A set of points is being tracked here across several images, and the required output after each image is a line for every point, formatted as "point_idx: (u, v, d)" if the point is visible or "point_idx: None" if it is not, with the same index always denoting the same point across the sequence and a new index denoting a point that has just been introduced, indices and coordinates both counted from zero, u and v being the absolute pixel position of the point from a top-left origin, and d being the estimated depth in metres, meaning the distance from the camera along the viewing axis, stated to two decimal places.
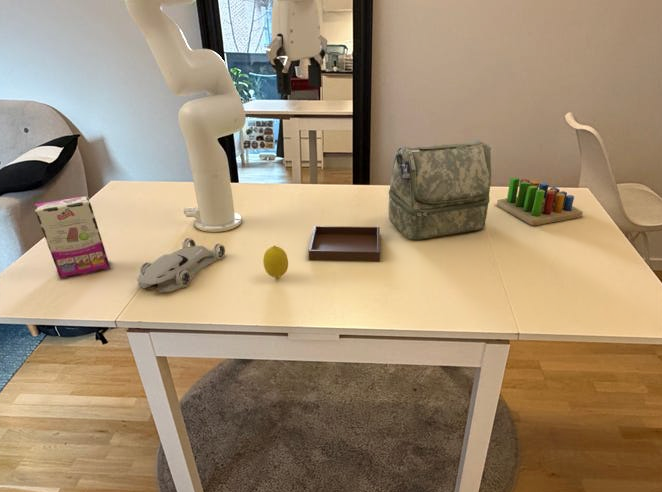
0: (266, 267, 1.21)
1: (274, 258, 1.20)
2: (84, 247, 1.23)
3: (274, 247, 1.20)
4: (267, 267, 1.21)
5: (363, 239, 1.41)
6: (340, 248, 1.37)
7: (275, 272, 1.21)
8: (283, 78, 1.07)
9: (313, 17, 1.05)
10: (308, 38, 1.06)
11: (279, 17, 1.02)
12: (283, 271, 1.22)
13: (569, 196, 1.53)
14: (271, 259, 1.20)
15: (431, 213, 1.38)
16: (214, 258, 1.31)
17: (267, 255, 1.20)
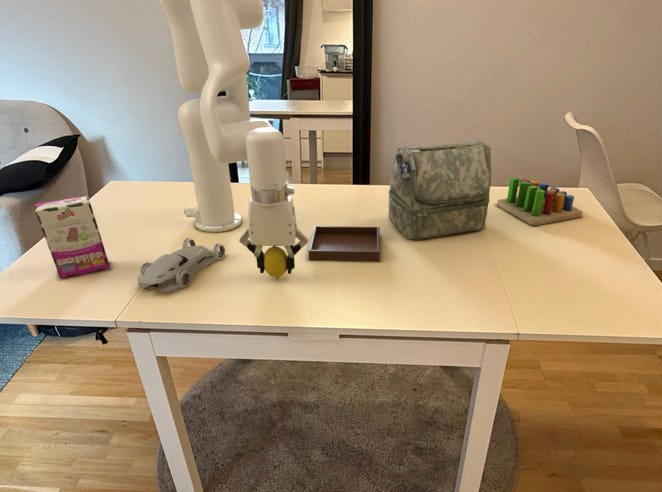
0: (266, 267, 1.21)
1: (274, 258, 1.20)
2: (84, 247, 1.23)
3: (274, 247, 1.20)
4: (267, 267, 1.21)
5: (363, 239, 1.41)
6: (340, 248, 1.37)
7: (275, 272, 1.21)
8: (257, 260, 1.22)
9: (280, 217, 1.14)
10: (273, 232, 1.16)
11: None
12: (283, 271, 1.22)
13: (569, 196, 1.53)
14: (271, 259, 1.20)
15: (431, 213, 1.38)
16: (214, 258, 1.31)
17: (267, 255, 1.20)
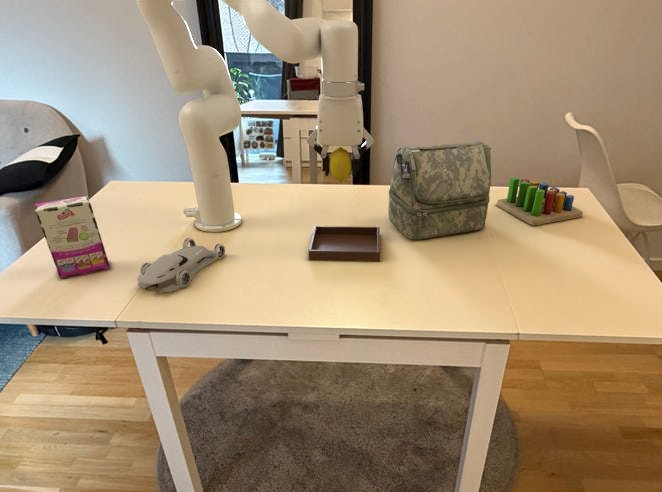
0: (332, 169, 1.24)
1: (340, 159, 1.22)
2: (84, 247, 1.23)
3: (340, 148, 1.22)
4: (332, 168, 1.23)
5: (363, 239, 1.41)
6: (340, 248, 1.37)
7: (341, 174, 1.24)
8: (323, 161, 1.24)
9: (349, 113, 1.16)
10: (341, 130, 1.18)
11: None
12: (348, 173, 1.24)
13: (569, 196, 1.53)
14: (337, 160, 1.22)
15: (431, 213, 1.38)
16: (214, 258, 1.31)
17: (333, 156, 1.22)
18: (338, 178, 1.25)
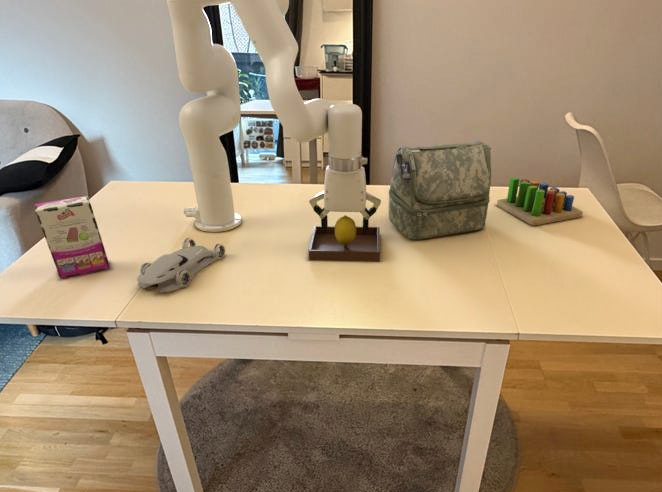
0: (337, 235, 1.34)
1: (345, 226, 1.33)
2: (84, 247, 1.23)
3: (345, 216, 1.33)
4: (338, 234, 1.34)
5: (363, 239, 1.41)
6: (340, 248, 1.37)
7: (346, 239, 1.34)
8: (321, 221, 1.34)
9: (354, 184, 1.26)
10: (346, 199, 1.28)
11: None
12: (352, 239, 1.35)
13: (569, 196, 1.53)
14: (343, 227, 1.33)
15: (431, 213, 1.38)
16: (214, 258, 1.31)
17: (339, 224, 1.33)
18: (343, 243, 1.36)
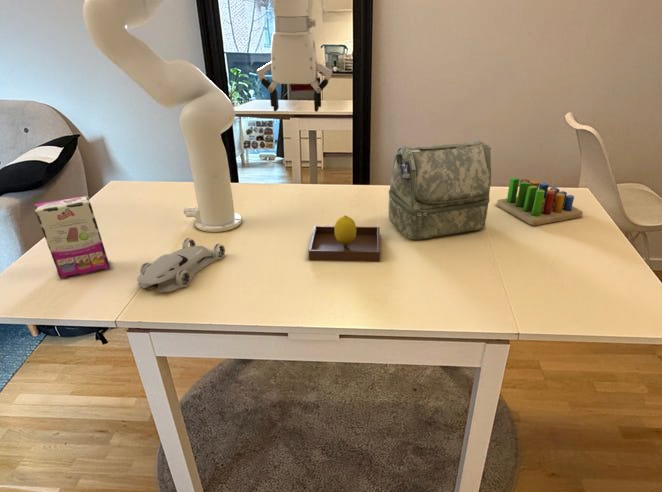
0: (337, 235, 1.34)
1: (345, 226, 1.33)
2: (84, 247, 1.23)
3: (345, 216, 1.33)
4: (338, 234, 1.34)
5: (363, 239, 1.41)
6: (340, 248, 1.37)
7: (346, 239, 1.34)
8: (271, 96, 1.26)
9: (301, 49, 1.19)
10: (294, 67, 1.21)
11: None
12: (352, 239, 1.35)
13: (569, 196, 1.53)
14: (343, 227, 1.33)
15: (431, 213, 1.38)
16: (214, 258, 1.31)
17: (339, 224, 1.33)
18: (343, 243, 1.36)
